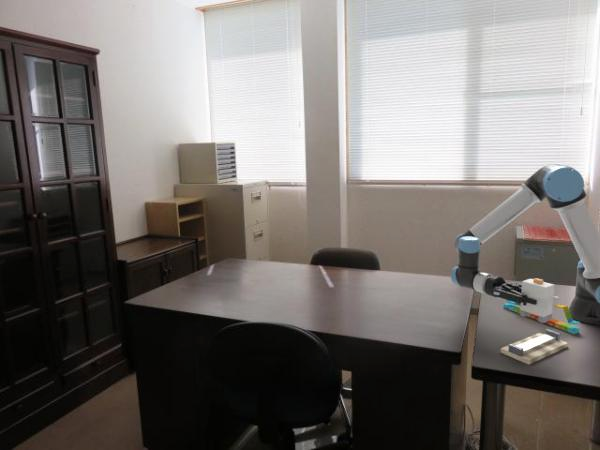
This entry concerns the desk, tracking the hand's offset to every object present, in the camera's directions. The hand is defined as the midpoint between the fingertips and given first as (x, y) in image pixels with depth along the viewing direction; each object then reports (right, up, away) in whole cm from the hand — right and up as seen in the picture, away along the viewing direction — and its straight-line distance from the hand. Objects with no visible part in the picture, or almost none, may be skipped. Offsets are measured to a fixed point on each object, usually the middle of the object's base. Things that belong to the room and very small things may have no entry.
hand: (552, 303), depth 145 cm
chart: (+13, -12, +33) cm, 37 cm away
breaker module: (-3, -6, +6) cm, 8 cm away
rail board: (-2, -17, +7) cm, 19 cm away
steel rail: (-2, -15, +7) cm, 17 cm away
